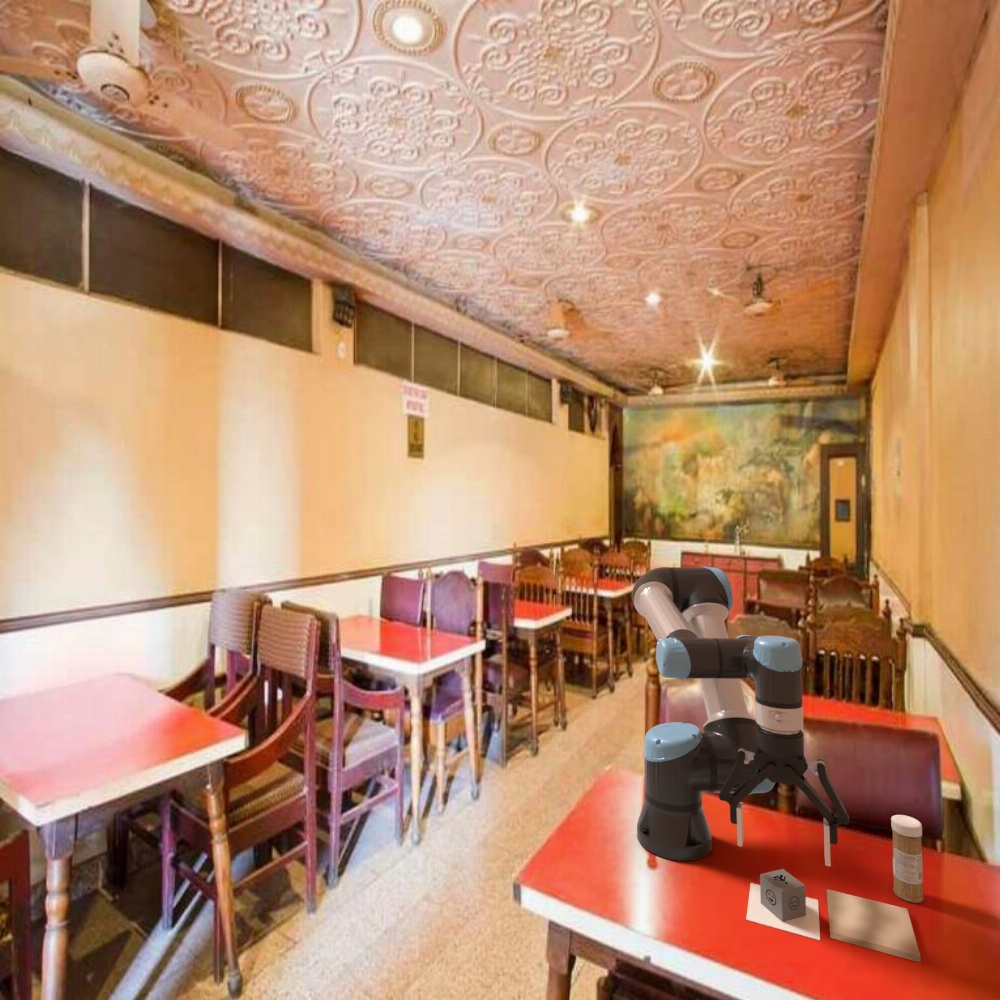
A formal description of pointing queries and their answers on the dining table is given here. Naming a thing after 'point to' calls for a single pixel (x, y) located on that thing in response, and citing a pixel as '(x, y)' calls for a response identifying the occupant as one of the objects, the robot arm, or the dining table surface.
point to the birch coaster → (872, 925)
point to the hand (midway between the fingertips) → (782, 852)
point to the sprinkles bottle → (907, 858)
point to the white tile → (799, 925)
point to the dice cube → (783, 895)
